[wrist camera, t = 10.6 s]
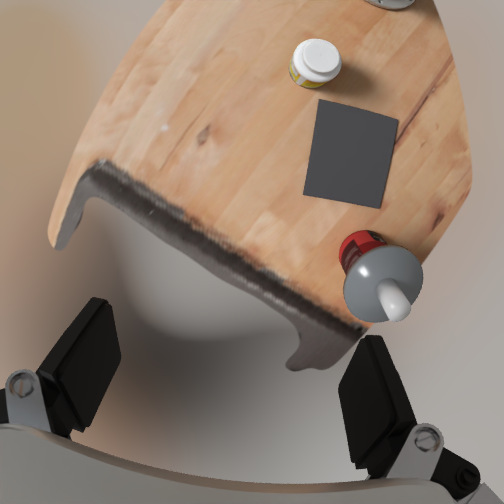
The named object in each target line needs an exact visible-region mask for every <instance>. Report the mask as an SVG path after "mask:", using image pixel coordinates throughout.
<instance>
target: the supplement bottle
mask: <svg viewBox="0 0 504 504" xmlns="http://www.w3.org/2000/svg"><path fill="white" fill-rule="evenodd" d="M341 65H342V61H341V56H340V54H339V52H338V50H337V48H336V47H335V46H334V45H333V44H331V43H330V42H328V41H325V40H322V39H309V40H306V41H304V42H302V43H301V44H299V45H298V47H297V48H296V50H295V51H294V54H293V56H292V59H291V61H290V64H289V73H290V76H291V78H292V79H293V80H294V82H295V83H297V84H298V85H300V86H302V87H304V88H317V87H320V86H322V85H323V84H325V83H327V82H328V81H330V80H332V79H333V78H334V77H336V76H337V74H338V73H339V71H340V69H341Z"/></svg>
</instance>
